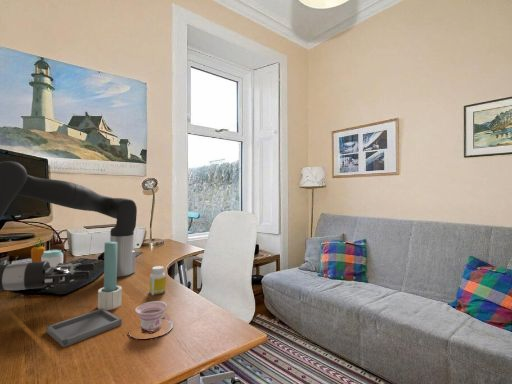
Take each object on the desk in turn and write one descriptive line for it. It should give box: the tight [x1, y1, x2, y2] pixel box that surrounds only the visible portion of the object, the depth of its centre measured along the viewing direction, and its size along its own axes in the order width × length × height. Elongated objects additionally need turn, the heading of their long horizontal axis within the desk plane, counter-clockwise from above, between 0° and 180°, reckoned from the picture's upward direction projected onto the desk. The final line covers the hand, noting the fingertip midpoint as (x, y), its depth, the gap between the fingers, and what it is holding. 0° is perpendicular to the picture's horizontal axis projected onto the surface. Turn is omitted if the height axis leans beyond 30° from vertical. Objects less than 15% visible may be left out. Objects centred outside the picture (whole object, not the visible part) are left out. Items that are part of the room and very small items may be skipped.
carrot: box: [30, 237, 47, 262], centre depth 120 cm, size 5×5×15 cm
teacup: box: [127, 300, 174, 338], centre depth 76 cm, size 12×12×6 cm
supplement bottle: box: [149, 265, 167, 296], centre depth 100 cm, size 5×5×10 cm
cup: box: [97, 285, 123, 311], centre depth 88 cm, size 7×7×6 cm
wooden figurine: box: [50, 235, 68, 263], centre depth 128 cm, size 7×6×15 cm
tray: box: [45, 308, 123, 348], centre depth 74 cm, size 14×11×2 cm
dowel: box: [103, 241, 118, 292], centre depth 88 cm, size 4×4×20 cm
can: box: [41, 249, 63, 267], centre depth 111 cm, size 7×7×12 cm
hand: (91, 270), depth 86 cm, fingers open, 8 cm apart
